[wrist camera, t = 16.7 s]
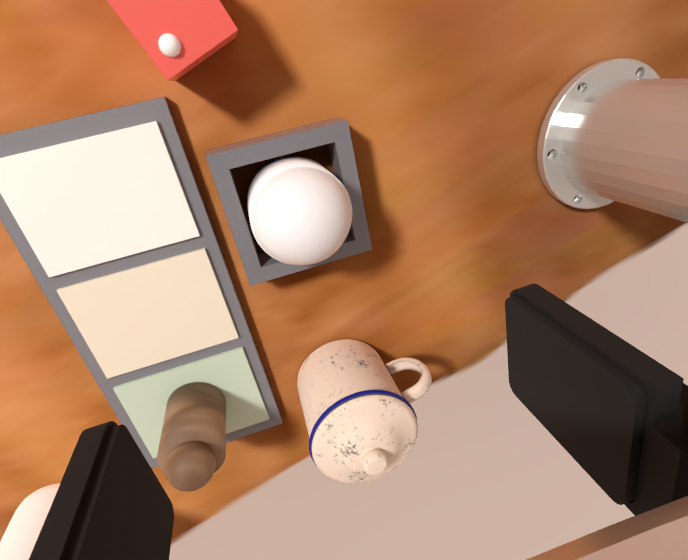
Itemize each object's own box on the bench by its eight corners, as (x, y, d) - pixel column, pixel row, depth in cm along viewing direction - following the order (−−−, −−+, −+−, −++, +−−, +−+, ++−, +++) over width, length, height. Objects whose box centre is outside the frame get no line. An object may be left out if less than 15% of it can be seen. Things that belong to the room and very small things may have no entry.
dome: (328, 145, 32) (352, 159, 26) (347, 232, 35) (373, 264, 29) (234, 169, 31) (236, 190, 25) (262, 257, 34) (270, 295, 28)
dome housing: (337, 117, 33) (347, 120, 31) (362, 238, 38) (372, 249, 35) (207, 150, 32) (205, 156, 29) (248, 271, 36) (250, 285, 34)
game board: (165, 96, 30) (163, 97, 29) (281, 417, 43) (283, 425, 42) (-37, 143, 28) (-47, 145, 27) (149, 462, 42) (147, 471, 41)
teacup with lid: (319, 426, 45) (348, 529, 35) (276, 365, 41) (294, 461, 30) (421, 370, 45) (480, 454, 35) (389, 303, 41) (444, 377, 31)
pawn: (216, 375, 38) (212, 449, 31) (232, 417, 40) (233, 496, 33) (158, 392, 37) (140, 472, 30) (178, 433, 40) (166, 518, 32)
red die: (185, -41, 27) (176, -69, 22) (236, 37, 30) (238, 28, 25) (120, 6, 27) (97, -11, 22) (175, 80, 30) (166, 80, 25)
